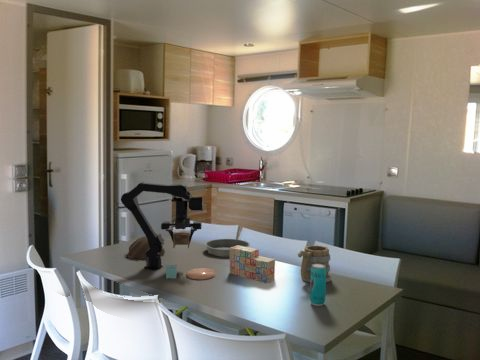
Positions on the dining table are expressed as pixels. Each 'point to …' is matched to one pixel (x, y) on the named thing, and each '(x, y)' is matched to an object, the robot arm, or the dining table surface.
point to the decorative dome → (140, 248)
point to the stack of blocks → (251, 264)
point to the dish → (201, 273)
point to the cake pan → (216, 245)
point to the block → (170, 271)
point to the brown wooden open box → (181, 237)
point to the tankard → (314, 261)
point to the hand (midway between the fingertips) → (181, 243)
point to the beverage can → (318, 284)
